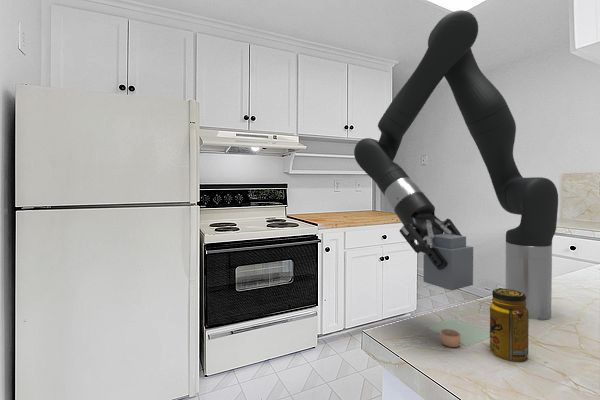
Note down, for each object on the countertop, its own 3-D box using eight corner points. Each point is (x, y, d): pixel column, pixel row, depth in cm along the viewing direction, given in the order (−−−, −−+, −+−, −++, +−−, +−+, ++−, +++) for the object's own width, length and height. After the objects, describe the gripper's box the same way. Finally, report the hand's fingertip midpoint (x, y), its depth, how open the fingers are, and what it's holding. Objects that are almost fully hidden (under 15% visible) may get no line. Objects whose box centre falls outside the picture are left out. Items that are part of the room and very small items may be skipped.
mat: (455, 318, 76) (455, 317, 76) (497, 335, 67) (497, 334, 67) (425, 328, 71) (425, 326, 71) (466, 347, 62) (466, 346, 62)
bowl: (443, 339, 66) (443, 327, 66) (462, 344, 64) (462, 332, 64) (438, 346, 63) (437, 333, 63) (457, 351, 61) (457, 338, 61)
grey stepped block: (423, 281, 65) (423, 235, 64) (444, 277, 68) (444, 232, 67) (451, 290, 59) (451, 239, 59) (472, 285, 62) (473, 236, 62)
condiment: (479, 347, 63) (479, 287, 62) (519, 344, 64) (519, 284, 63) (506, 368, 56) (507, 300, 55) (551, 364, 56) (552, 297, 56)
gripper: (393, 191, 66) (443, 258, 56) (440, 189, 73) (491, 249, 63) (376, 215, 71) (418, 280, 61) (421, 211, 78) (466, 270, 68)
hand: (455, 264), depth 62 cm, fingers closed on grey stepped block, 6 cm apart
